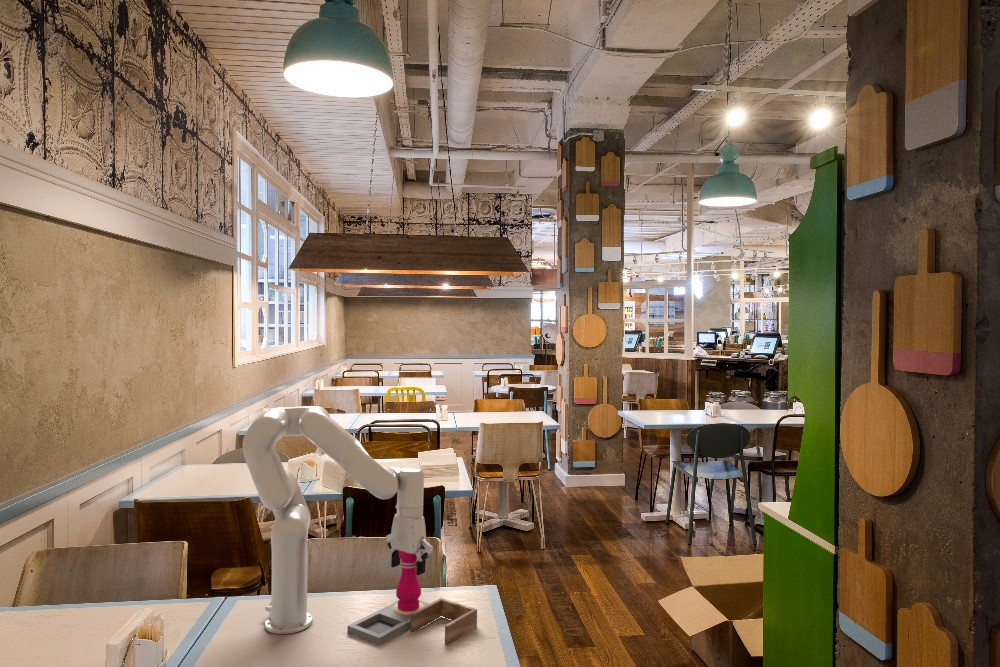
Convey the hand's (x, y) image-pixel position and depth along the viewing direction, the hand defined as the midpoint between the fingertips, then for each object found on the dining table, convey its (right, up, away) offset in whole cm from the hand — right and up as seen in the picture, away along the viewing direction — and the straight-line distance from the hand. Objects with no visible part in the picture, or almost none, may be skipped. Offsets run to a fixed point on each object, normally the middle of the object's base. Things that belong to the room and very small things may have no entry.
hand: (408, 569), depth 186 cm
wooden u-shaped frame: (+11, -13, -9) cm, 19 cm away
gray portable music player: (-3, -13, -5) cm, 14 cm away
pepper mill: (0, -11, 0) cm, 11 cm away
